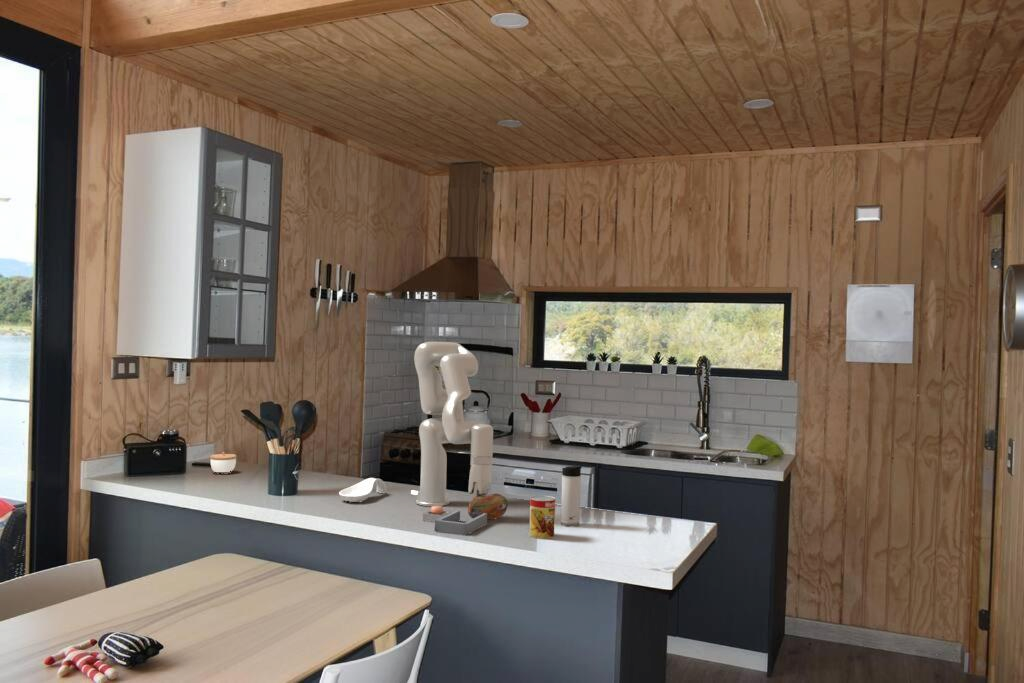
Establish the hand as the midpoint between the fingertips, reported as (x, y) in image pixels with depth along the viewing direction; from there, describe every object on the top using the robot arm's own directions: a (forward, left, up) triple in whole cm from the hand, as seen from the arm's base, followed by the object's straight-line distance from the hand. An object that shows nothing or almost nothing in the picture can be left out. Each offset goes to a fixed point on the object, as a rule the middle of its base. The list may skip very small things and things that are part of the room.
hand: (479, 513), depth 278 cm
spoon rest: (-52, +11, -2) cm, 53 cm away
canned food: (+27, -14, -2) cm, 31 cm away
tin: (+2, -1, -1) cm, 3 cm away
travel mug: (+31, +5, -2) cm, 31 cm away
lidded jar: (-133, +30, -2) cm, 136 cm away
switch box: (-12, -9, -2) cm, 15 cm away
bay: (0, -15, -2) cm, 15 cm away
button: (-12, -9, 0) cm, 15 cm away
